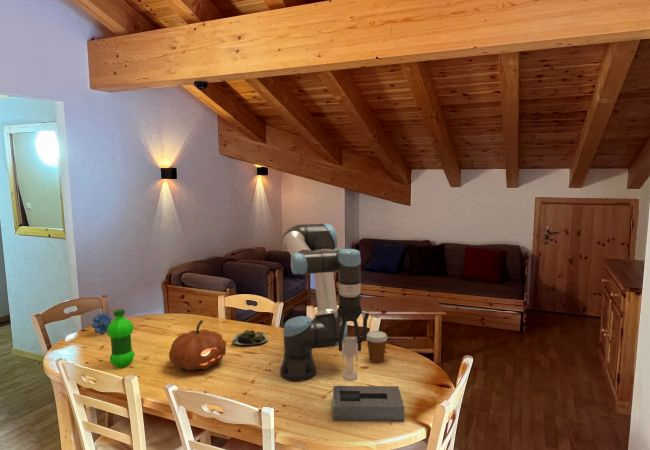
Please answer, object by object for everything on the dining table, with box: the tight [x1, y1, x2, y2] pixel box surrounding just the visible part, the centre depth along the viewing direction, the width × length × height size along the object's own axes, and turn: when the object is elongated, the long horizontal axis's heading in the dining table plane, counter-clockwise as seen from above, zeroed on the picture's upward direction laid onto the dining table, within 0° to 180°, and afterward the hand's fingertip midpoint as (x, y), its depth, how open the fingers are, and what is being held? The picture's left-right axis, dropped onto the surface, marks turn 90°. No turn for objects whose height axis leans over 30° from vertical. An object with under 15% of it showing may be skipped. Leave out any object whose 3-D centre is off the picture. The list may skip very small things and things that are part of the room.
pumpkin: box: [168, 319, 227, 371], centre depth 184 cm, size 25×25×19 cm
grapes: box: [91, 312, 113, 335], centre depth 221 cm, size 12×7×12 cm, turn 155°
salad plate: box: [231, 329, 268, 348], centre depth 212 cm, size 19×18×5 cm
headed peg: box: [342, 336, 358, 382], centre depth 145 cm, size 5×5×14 cm
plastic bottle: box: [106, 308, 135, 369], centre depth 183 cm, size 10×10×25 cm
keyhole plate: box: [332, 385, 405, 422], centre depth 147 cm, size 24×14×5 cm, turn 88°
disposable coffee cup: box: [366, 330, 388, 364], centre depth 186 cm, size 10×10×12 cm
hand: (349, 359), depth 145 cm, fingers closed on headed peg, 4 cm apart
